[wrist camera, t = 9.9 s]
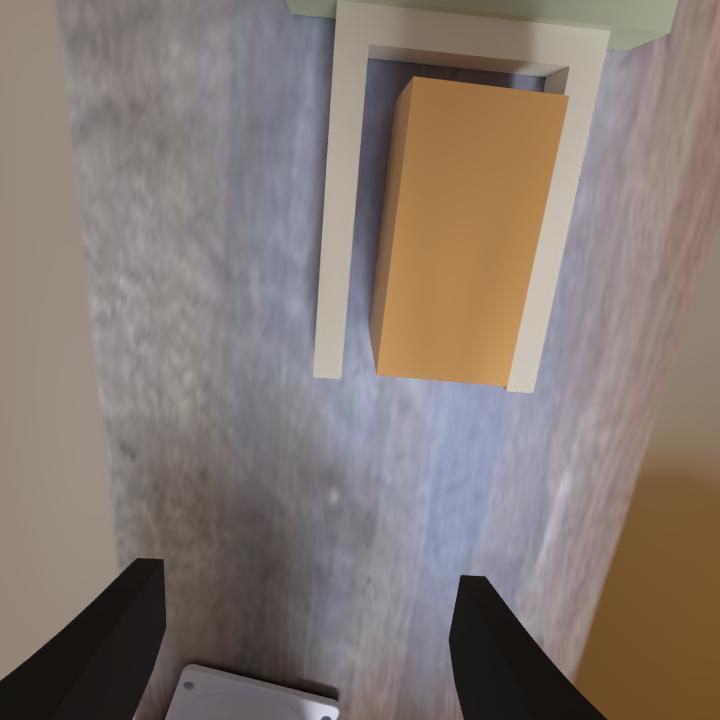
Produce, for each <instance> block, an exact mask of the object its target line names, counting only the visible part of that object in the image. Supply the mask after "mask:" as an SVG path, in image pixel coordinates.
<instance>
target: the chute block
mask: <svg viewBox="0 0 720 720" xmlns="http://www.w3.org/2000/svg"><path fill="white" fill-rule="evenodd" d="M568 101H569V96H567V95H559V94H551V93H543V92H535V91H527V90H519V89H511V88H503V87H495V86H487V85H479V84H471V83H464V82H456V81H448V80H440V79H432V78H424V77H416V76H414V77H413V78H412V79H411V81H410V82H409V83H408V85H407V86H406V87H405V89H404V90H403V91H402V93H401V94H400V95H399V96H398V98H397V99H396V100H395V107H394V116H393V125H392V133H391V142H390V150H389V159H388V168H387V176H386V185H385V193H384V202H383V211H382V219H381V228H380V236H379V245H378V253H377V262H376V271H375V279H374V288H373V296H372V305H371V314H370V322H369V334H370V340H371V346H372V351H373V357H374V363H375V369H376V375H383V376H395V377H406V378H418V379H429V380H440V381H452V382H463V383H474V384H486V385H497V386H507V385H508V380H509V376H510V371H511V366H512V362H513V357H514V352H515V348H516V343H517V339H518V334H519V329H520V325H521V320H522V315H523V311H524V306H525V301H526V297H527V292H528V287H529V283H530V278H531V273H532V269H533V264H534V259H535V255H536V250H537V245H538V241H539V236H540V231H541V227H542V222H543V217H544V213H545V208H546V203H547V199H548V194H549V189H550V185H551V180H552V175H553V171H554V166H555V161H556V157H557V152H558V147H559V143H560V138H561V133H562V129H563V124H564V119H565V115H566V110H567V105H568Z"/></svg>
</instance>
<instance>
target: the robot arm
mask: <svg viewBox="0 0 720 720" xmlns="http://www.w3.org/2000/svg"><path fill="white" fill-rule="evenodd" d="M165 629H166V608H165V583H164V559H145V558H137V559H136V560H135V561H133V562H132V563H131V564H130V565H129V566H128V567H127V568H126V569H125V570H124V571H123V572H122V573H121V574H120V575H119V576H118V577H117V578H116V579H115V580H114V581H113V582H112V583H111V584H110V585H109V586H108V587H107V588H106V589H105V590H104V591H103V592H102V593H101V594H100V595H99V596H98V597H97V598H96V599H95V600H94V601H93V602H92V603H91V604H90V605H89V606H87V607H86V608H85V609H84V610H83V611H82V612H81V613H80V614H79V615H78V616H77V617H76V618H74V620H72V621H71V622H70V623H69V624H68V625H67V626H66V627H65V628H64V629H62V630H61V631H60V632H59V633H58V634H57V635H56V636H54V637H53V638H52V639H51V640H50V641H49V642H47V643H46V644H45V645H44V646H43V647H42V648H41V649H39V650H38V651H37V652H36V653H35V654H33V655H32V656H31V657H30V658H29V659H27V661H25V662H24V663H22V664H21V665H20V666H19V667H17V668H16V669H15V670H14V671H12V672H11V673H10V674H9V675H7V676H6V677H5V678H3V679H2V680H1V681H0V720H132V719H133V716H134V714H135V712H136V709H137V707H138V705H139V702H140V700H141V698H142V695H143V693H144V691H145V688H146V686H147V683H148V681H149V679H150V676H151V674H152V671H153V668H154V665H155V662H156V659H157V656H158V652H159V649H160V646H161V642H162V639H163V636H164V632H165ZM449 645H450V653H451V661H452V667H453V674H454V681H455V686H456V690H457V694H458V698H459V702H460V706H461V710H462V714H463V718H464V720H607V719H606V718H605V717H604V716H603V715H602V714H601V713H600V712H599V711H598V710H597V709H596V708H595V707H594V706H593V705H592V704H591V703H590V702H589V701H588V700H587V699H586V698H585V697H584V696H583V695H582V694H581V693H580V692H579V691H578V690H577V689H576V688H575V687H574V686H573V685H572V684H571V683H570V681H569V680H568V679H567V678H566V677H565V676H564V675H563V674H562V673H561V671H560V670H559V669H558V668H557V667H556V666H555V665H554V663H553V662H552V661H551V660H550V659H549V658H548V656H547V655H546V654H545V653H544V652H543V650H542V649H541V648H540V647H539V646H538V644H537V643H536V642H535V641H534V639H533V638H532V637H531V636H530V635H529V633H528V632H527V631H526V630H525V628H524V627H523V626H522V624H521V623H520V622H519V621H518V619H517V618H516V617H515V615H514V614H513V613H512V611H511V610H510V609H509V607H508V606H507V605H506V603H505V602H504V601H503V599H502V598H501V597H500V595H499V594H498V593H497V591H496V590H495V589H494V587H493V586H492V584H491V583H490V582H489V581H488V579H487V578H486V577H485V576H468V575H461V576H460V582H459V587H458V592H457V598H456V603H455V608H454V613H453V619H452V624H451V629H450V635H449ZM339 713H340V705H339V703H338V702H337V701H336V700H334V699H330V698H326V697H322V696H318V695H314V694H310V693H306V692H302V691H299V690H295V689H291V688H287V687H283V686H279V685H275V684H271V683H267V682H263V681H259V680H255V679H251V678H247V677H243V676H239V675H235V674H231V673H228V672H224V671H220V670H216V669H212V668H208V667H204V666H200V665H196V664H191V665H187V666H186V667H185V668H184V669H183V672H182V674H181V677H180V680H179V683H178V685H177V688H176V691H175V693H174V696H173V699H172V702H171V704H170V707H169V710H168V712H167V715H166V718H165V720H337V718H338V716H339Z"/></svg>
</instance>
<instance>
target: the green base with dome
mask: <svg viewBox="0 0 720 720" xmlns="http://www.w3.org/2000/svg"><path fill="white" fill-rule="evenodd" d="M286 1H287V4H288V7H289V10H290V13H291V14H295V15H304V16H313V17H322V18H331V19H336V27H335V42H334V58H333V73H332V89H331V104H330V120H329V135H328V151H327V166H326V182H325V197H324V213H323V228H322V244H321V259H320V275H319V290H318V306H317V321H316V337H315V352H314V368H313V377H318V378H332V379H341V373H342V361H343V349H344V337H345V325H346V313H347V301H348V289H349V277H350V265H351V253H352V241H353V229H354V217H355V205H356V193H357V181H358V169H359V157H360V145H361V133H362V121H363V109H364V97H365V85H366V73H367V61H368V58H371V59H380V60H390V61H399V62H408V63H418V64H427V65H436V66H446V67H455V68H464V69H474V70H483V71H492V72H502V73H511V74H520V75H530V76H539V77H546V79H545V84H544V90H543V93H551V94H559V95H567V96H569V101H568V105H567V110H566V115H565V119H564V124H563V129H562V133H561V138H560V143H559V147H558V152H557V157H556V161H555V166H554V171H553V175H552V180H551V185H550V189H549V194H548V199H547V203H546V208H545V213H544V217H543V222H542V227H541V231H540V236H539V241H538V245H537V250H536V255H535V259H534V264H533V269H532V273H531V278H530V283H529V287H528V292H527V297H526V301H525V306H524V311H523V315H522V320H521V325H520V329H519V334H518V339H517V343H516V348H515V352H514V357H513V362H512V366H511V371H510V376H509V380H508V385H507V386H503V388H504V389H505V390H506V391H510V392H524V393H533V392H534V387H535V382H536V378H537V373H538V368H539V364H540V359H541V354H542V350H543V345H544V340H545V336H546V331H547V326H548V322H549V317H550V312H551V308H552V303H553V298H554V294H555V289H556V284H557V280H558V275H559V270H560V266H561V261H562V256H563V252H564V247H565V242H566V238H567V233H568V228H569V224H570V219H571V214H572V210H573V205H574V200H575V196H576V191H577V186H578V182H579V177H580V172H581V168H582V163H583V158H584V154H585V149H586V144H587V140H588V135H589V130H590V125H591V121H592V116H593V111H594V107H595V102H596V97H597V93H598V88H599V83H600V79H601V74H602V69H603V65H604V60H605V55H606V51H607V49H610V50H619V51H628V50H630V49H633V48H635V47H637V46H640V45H642V44H644V43H647V42H649V41H651V40H654V39H656V38H658V37H661V36H663V35H665V34H668V33H670V31H671V27H672V23H673V19H674V15H675V11H676V7H677V2H678V0H286Z"/></svg>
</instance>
